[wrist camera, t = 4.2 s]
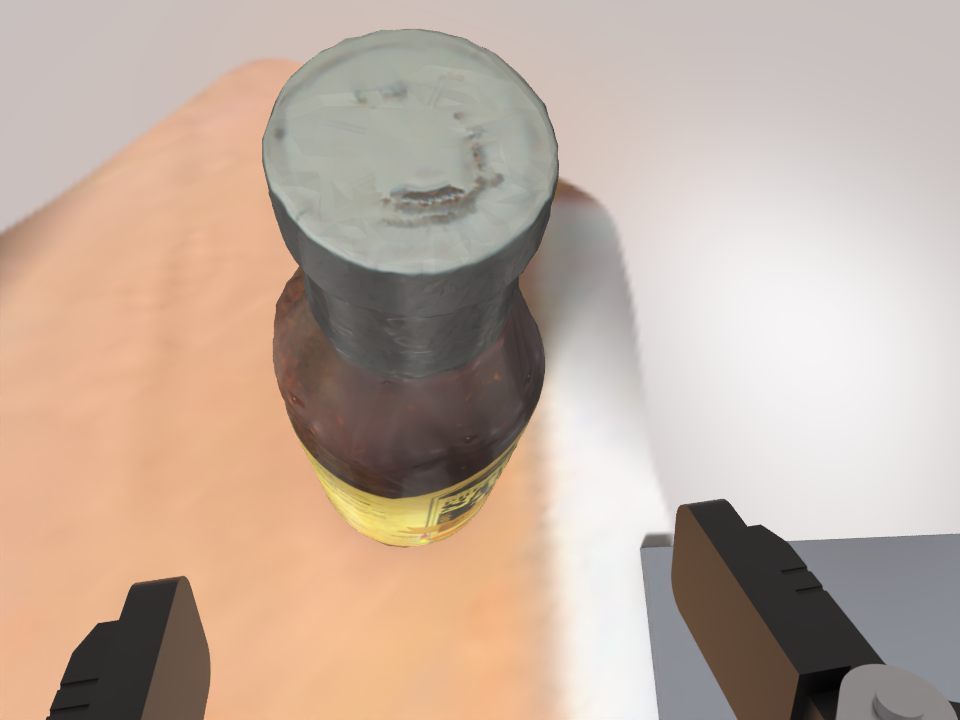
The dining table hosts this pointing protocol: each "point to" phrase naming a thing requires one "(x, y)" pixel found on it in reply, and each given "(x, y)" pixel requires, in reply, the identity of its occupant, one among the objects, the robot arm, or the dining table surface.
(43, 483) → the dining table surface
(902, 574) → the gray mat
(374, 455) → the sauce bottle
